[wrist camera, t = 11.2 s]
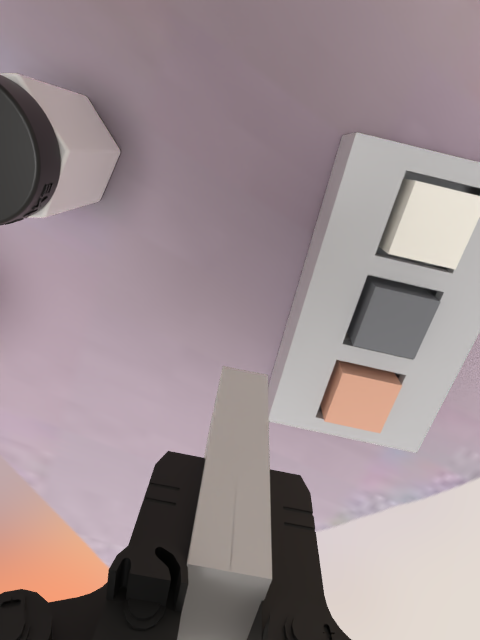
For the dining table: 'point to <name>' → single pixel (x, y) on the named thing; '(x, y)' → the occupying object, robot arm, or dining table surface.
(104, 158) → the jar
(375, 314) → the charcoal key
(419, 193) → the ivory key
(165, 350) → the dining table surface
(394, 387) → the terracotta key
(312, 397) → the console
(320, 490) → the dining table surface
